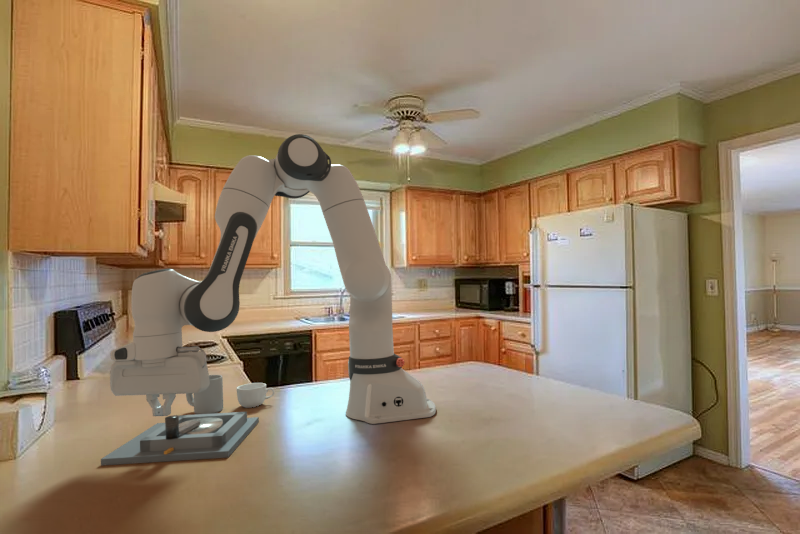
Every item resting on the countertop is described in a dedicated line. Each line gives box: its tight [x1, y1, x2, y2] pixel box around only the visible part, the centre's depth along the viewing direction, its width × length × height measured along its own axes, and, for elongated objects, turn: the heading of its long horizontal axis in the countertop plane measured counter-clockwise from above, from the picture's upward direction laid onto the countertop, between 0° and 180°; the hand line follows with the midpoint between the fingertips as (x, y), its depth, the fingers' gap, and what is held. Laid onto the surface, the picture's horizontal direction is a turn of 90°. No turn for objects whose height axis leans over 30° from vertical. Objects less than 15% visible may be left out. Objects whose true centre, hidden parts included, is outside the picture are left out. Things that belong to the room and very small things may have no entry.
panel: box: [100, 411, 260, 466], centre depth 94 cm, size 24×21×3 cm
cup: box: [185, 374, 224, 415], centre depth 117 cm, size 7×10×9 cm
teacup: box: [236, 382, 275, 409], centre depth 120 cm, size 10×8×5 cm
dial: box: [164, 414, 223, 440], centre depth 92 cm, size 14×10×6 cm
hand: (162, 415), depth 89 cm, fingers closed
